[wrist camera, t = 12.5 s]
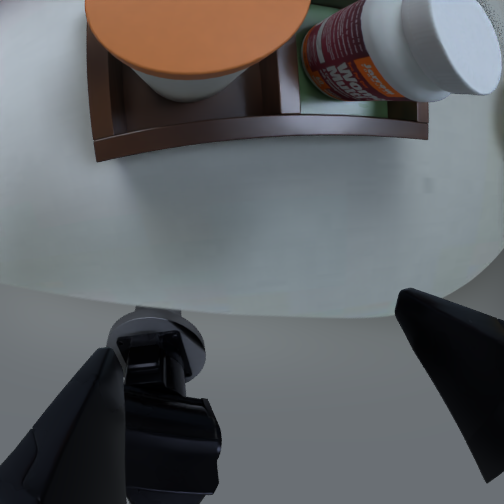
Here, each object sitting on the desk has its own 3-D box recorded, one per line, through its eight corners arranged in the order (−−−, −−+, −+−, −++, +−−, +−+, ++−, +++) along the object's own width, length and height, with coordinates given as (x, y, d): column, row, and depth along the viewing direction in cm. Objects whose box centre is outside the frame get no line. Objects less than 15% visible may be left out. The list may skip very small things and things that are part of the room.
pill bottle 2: (293, 91, 16) (418, 72, 6) (302, 11, 14) (412, -57, 4) (371, 110, 18) (505, 128, 8) (378, 38, 15) (502, 17, 5)
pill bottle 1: (243, 99, 16) (322, 72, 7) (143, 111, 15) (83, 97, 6) (237, 13, 13) (299, -83, 4) (138, 23, 12) (95, -71, 3)
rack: (393, 133, 20) (428, 140, 16) (114, 154, 16) (96, 163, 13) (384, 11, 15) (416, 0, 11) (105, 6, 12) (89, -17, 8)
